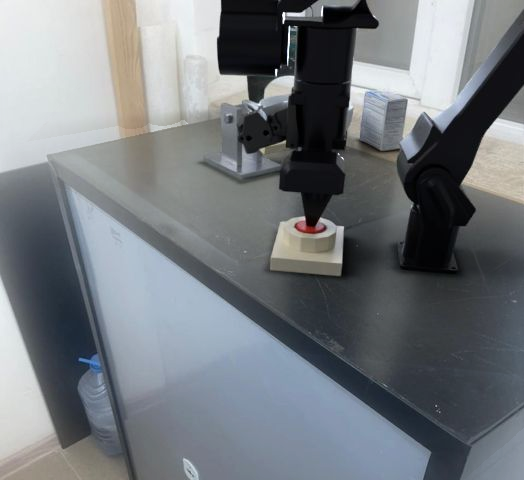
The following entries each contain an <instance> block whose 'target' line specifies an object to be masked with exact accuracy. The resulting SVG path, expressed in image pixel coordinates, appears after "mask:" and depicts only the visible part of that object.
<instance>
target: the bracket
mask: <svg viewBox="0 0 524 480" xmlns="http://www.w3.org/2000/svg"><path fill="white" fill-rule="evenodd" d="M241 104H244V105H245V106H247V107H248V108H249V109H250V110H251V111H255V110H257V109H259V108H260V109H261V108H263V105H261V104H258V103H255V102H252V101H249V99H242V100H241ZM241 116H242V108H239V107H236V106H234V104H230V103H228V102H221V103H220V136H221V137H220V138H221V140H220V141H221V142H220V143H221V151H219V152H215V153H211V154H205V155H203V156H202V158H203V159H202V161H204V162H205V163H207V164H209V165H212V166H214V167H216V168H218V169H220V170H221V171H223V172H225V173H228V174H230V175H231V176H233V177H235V178H237V179H240V180H245V179H250V178H254V177H258V176H259V177H260V176H262V175H267V174H271V173H275V172H280V168H281V165H282V164H279V163H277V162H275V161H273V160H271V159H268V158H267V157H265V156H264V157H263V153H262V152H261V151H260V149H259V150H258V151H257V152H255V153H252V154H246V152H245V149H244V146H243V144H242V143H240V142H239V141H238V136H239V131H238V128H237V125H236V124H237V122H238V121H239V119H240V118H241Z"/></svg>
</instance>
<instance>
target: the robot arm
mask: <svg viewBox="0 0 524 480" xmlns="http://www.w3.org/2000/svg"><path fill="white" fill-rule="evenodd" d="M317 2H319V0H220V15H219V27H218V36H217V37H216V52H217V53H216V56H217V57H216V59H217V67H218V72H219V75H220V76H237V77H238V76H240V77H241V76H242V77H243V76H244V77H247V76H265V77H276V75H277V69H281V65H282V66H288V55H289V34H290V26H294V27H297V33H296V53H295V72H294V76H293V86H292V87H291V92H290V93H288V94H289V97H288V100H287V101H284V102H281V103H276V104H273V105H270V106H267V107H264V108H261V109H260V108H259V109H257V110H255V111H252V112H247V113H246V114H245V115H243V116H241V118H240V119H239V121H238V122H237V124H236V125H237V128H238V131H239V136H238V141H239V142H240V143H242V144H243V146H244V149H245V152H246V154H252V153H255V152H257V151H258V150H259V149H262V148H265V147H268V146H271V145H275V144H278V143H281V142H283V141H285V140H286V148H290V149H293V150H291V152H289V153H288V154H287V155H286V156H285V157H284V158H283V160H282V162H281V164H280V165H281V168H280V171H279V178H278V179H279V180H278V190H280V191H282V192H288V193H300V196H301V202H302V208H303V214H304V216H305V221H306V225H307V226H310V227H315V226H316V225H317V223H318V221H319V219H320V218H322V216H323V214H324V212H325V210H326V209H327V206H328V204H329V203H330V201H331V199H332V198H333V196H339V195H343V194H344V190H345V182H346V181H345V179H346V169H347V166H346V165H347V163H346V161H345V158H344V157H342V156H340V153H339V152H335V151H338V150H339V151H345V150H346V149H345V148H346V146H347V137H348V129H347V126H348V125H347V118H348V109H349V103H351V89H352V82H353V81H352V80H353V69H354V61H355V51H356V43H357V35H358V30H359V29H361V30H376V29H377V28H379V26H380V21H379V20H378V18H377V17H376V16H375V15H373V13H372V11H371V9H370V7H369V5H368V2H367V0H357V1H355V3H354V4H352V5H327V4H325V5H322V6H321V14H320V16H319V15H318V16H313V17H312V16H297V15H296V16H292V15H285V13H286V14H287V13H288V14H301V13H303V12H305V11H306V10H308V9H309V8H310V6H313V5H314V4H315V3H317ZM523 87H524V8H523V9H522V10H521V12H520V13H519V15H517V17H516V18H515V19H514V21H513V22H512V24H511V25H510V26H509V28H508V29H507V30H506V31H505V33H504V34H503V35H502V37H501V38H500V39H499V41H498V42H497V43H496V45H495V46H494V47H493V49H492V50H491V52H490V53H489V54H488V55H487V57H486V58H485V60H484V61H482V63H481V65H480V66H479V67H478V69H477V70H476V71H475V72H474V74H473V75H472V77H471V78H470V79H469V81H467V83H466V84H465V86H464V88H462V89H461V92H459V94H458V95H457V97H456V98H455V99H454V101H453V102H452V103H451V104H450V105H449V106H448V107H447V108H446V109H445V110H443V111H441V112H440V113H439V114H438V115H436V116H434V117H433V118H431V117H430V116H429V115H428V113H427V112H426V111H422V112H421V113H420V115H419V116H418V118H417V119H416V121H415V124H414V125H413V127H412V129H411V131H410V132H409V133H408V134H407V135H406V136H405V137H404V138H402V140H401V141H400V142H399V145H400V147H401V148H400V149H399V152H398V155H396V156H397V157H396V160H395V162H396V164H395V165H396V173H397V175H398V178H399V181H400V184H401V186H402V188H403V191H404V193H405V195H406V197H407V199H408V200H409V201H410V202H412V203H413V204H412V205H411V206H410V211H409V216H408V222H407V226H406V232H405V237H404V241H398V242H397V244H396V248H397V256H398V264H399V268H400V269H402V270H407V271H408V270H409V271H419V272H431V273H442V274H457V273H458V270H459V267H458V265H457V261H456V258H455V255H454V251H455V246H456V243H457V238H458V235H459V231H460V228H461V227H466V226H467V225H469V222H470V220H471V219H472V218H473V217H474V215H475V213H476V212H477V208H476V206H475V205H474V203H473V202H472V200H471V199H470V197H469V195H468V194H467V192H466V191H465V189H464V188H463V186H462V183H463V182H464V180H465V179H466V177H467V175H468V174H469V172H470V170H471V169H472V167H473V164H474V161H475V160H476V156H477V154H478V151H479V148H480V146H481V144H482V141H483V139H484V136H485V135H486V133H487V131H488V130H489V129H490V128H491V126H492V125H493V124H494V123H495V122H496V121H497V119H498V118H499V117H500V116H501V114H502V113H503V112H504V110H506V108H507V107H508V106H509V104H510V103H511V102H512V101H513V99H514V98H516V96H517V95H518V94H519V92H520V91H521V89H522V88H523ZM294 149H295V150H294ZM334 150H335V151H334Z"/></svg>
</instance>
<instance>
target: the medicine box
mask: <svg viewBox="0 0 524 480" xmlns="http://www.w3.org/2000/svg"><path fill="white" fill-rule="evenodd" d="M408 102H409V100H408V98H407V97H404V96H402V95H399V94H397V93H394V92H391V91H389V90H386V89H375V90H368V91H364V94H363V103H362V113H361V122H360V127H359V128H360V129H359V139H358V140H360V141H362V142H364V143H366V144H367V145H369V146H371V147H373V148H375V149H377V150H379V151H380V152H383V151H384V152H385V151H386V152H387V151H393V150H400V149H401V147H400V145H399V142H400V141H401V140H402V139H403V135H404V128H405V124H406V123H405V122H406V117H407V109H408Z"/></svg>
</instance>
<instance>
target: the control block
mask: <svg viewBox="0 0 524 480" xmlns="http://www.w3.org/2000/svg"><path fill="white" fill-rule="evenodd" d="M304 220H305V215H304V216H303V215H302V216H297V217H296V216H295V217H292V218H290V219H288V220H287V221H280V222H279V224H278V230H277V233H276V237H275V241H274V244H273V247H272V248H273V249H272V250H271V251H272V252H271V255H270V266H269V267H270V269H269V270H270V271H278V272H288V273H300V274H312V275H323V276H332V277H333V276H334V277H335V276H336V277H341V276H342V269H343V254H344V235H345V234H344V233H345V226H344V225H343V226H342V225H336V224H335V223H334V222H332V221H331V220H329V219H327V218H323V217H320V219H319V221H318V222H321V223H322V224H323V225H324V232H322V233H317V234H307V233H302V232H299V231H298V230H297V224H298V223H299V222H300V221H304Z"/></svg>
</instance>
